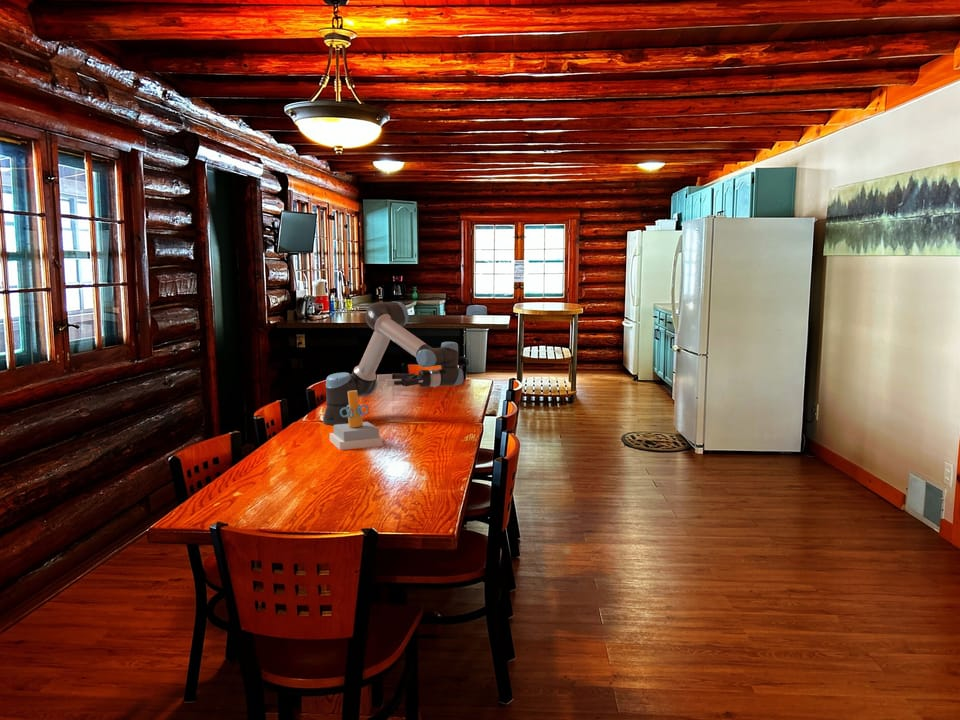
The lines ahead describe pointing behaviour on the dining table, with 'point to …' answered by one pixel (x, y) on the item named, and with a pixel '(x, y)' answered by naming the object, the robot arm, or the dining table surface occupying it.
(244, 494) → the dining table surface
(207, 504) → the dining table surface
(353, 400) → the yellow post with rings
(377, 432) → the tower top
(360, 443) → the tower base
